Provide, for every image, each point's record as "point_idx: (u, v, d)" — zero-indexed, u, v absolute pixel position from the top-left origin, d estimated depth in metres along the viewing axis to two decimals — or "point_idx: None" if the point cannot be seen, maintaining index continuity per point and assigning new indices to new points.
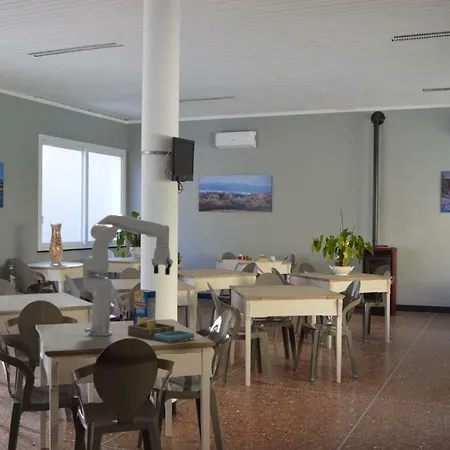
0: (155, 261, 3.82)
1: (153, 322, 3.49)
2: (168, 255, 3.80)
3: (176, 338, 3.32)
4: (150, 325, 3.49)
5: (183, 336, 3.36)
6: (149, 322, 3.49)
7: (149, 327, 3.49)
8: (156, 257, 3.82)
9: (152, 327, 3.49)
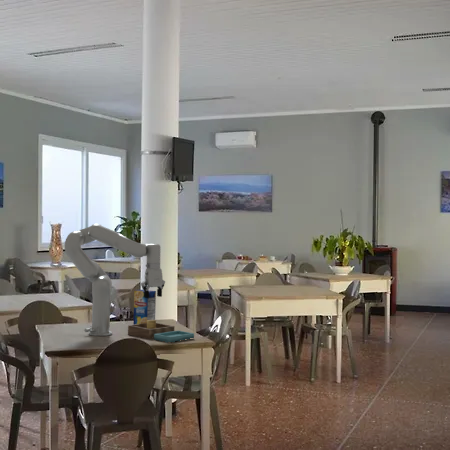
0: (153, 284, 3.47)
1: (153, 322, 3.49)
2: None
3: (176, 338, 3.32)
4: (150, 325, 3.49)
5: (183, 336, 3.36)
6: (149, 322, 3.49)
7: (149, 327, 3.49)
8: (154, 279, 3.48)
9: (152, 327, 3.49)
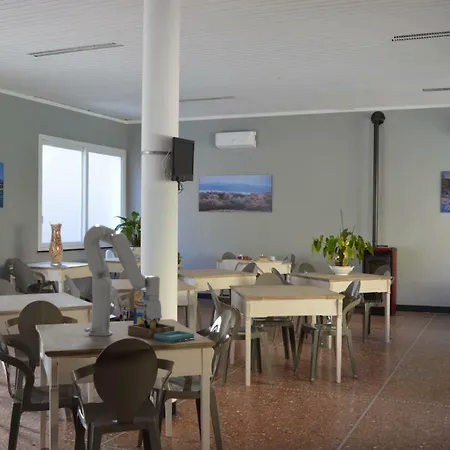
0: (151, 316, 3.47)
1: (153, 322, 3.49)
2: None
3: (176, 338, 3.32)
4: (150, 325, 3.49)
5: (183, 336, 3.36)
6: None
7: None
8: (152, 311, 3.48)
9: (152, 327, 3.49)
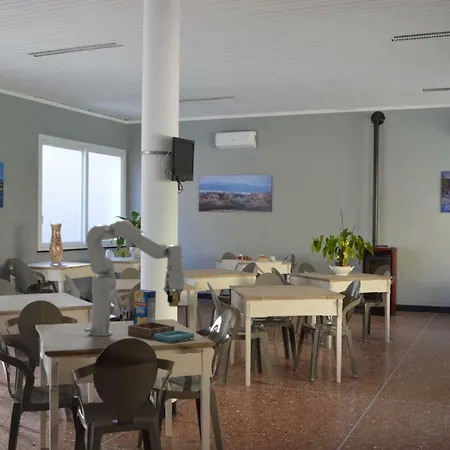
0: (174, 286, 3.37)
1: (176, 293, 3.39)
2: None
3: (176, 338, 3.32)
4: (173, 296, 3.38)
5: (183, 336, 3.36)
6: None
7: None
8: (175, 282, 3.37)
9: (175, 298, 3.38)
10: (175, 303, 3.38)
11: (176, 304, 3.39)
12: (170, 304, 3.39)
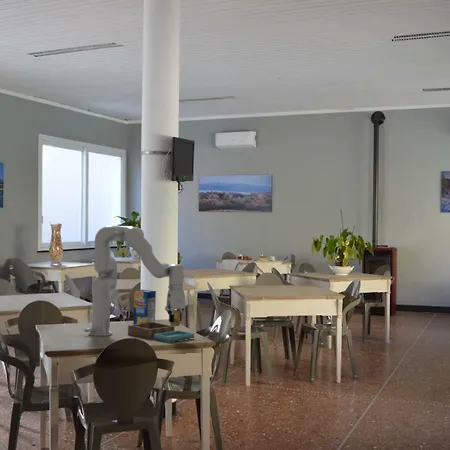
0: (175, 306, 3.36)
1: (177, 312, 3.38)
2: None
3: (176, 338, 3.32)
4: (174, 315, 3.37)
5: (183, 336, 3.36)
6: None
7: None
8: (176, 301, 3.36)
9: (176, 317, 3.37)
10: (177, 323, 3.37)
11: (178, 323, 3.38)
12: (171, 323, 3.38)
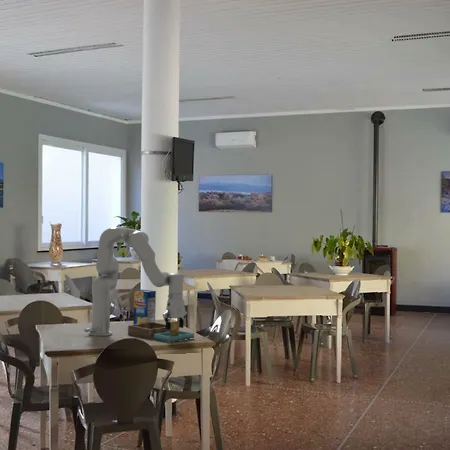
0: (175, 315, 3.36)
1: (176, 323, 3.38)
2: None
3: (176, 338, 3.32)
4: (173, 326, 3.37)
5: (183, 336, 3.36)
6: (172, 323, 3.37)
7: (172, 328, 3.37)
8: (176, 310, 3.36)
9: (175, 328, 3.37)
10: (176, 334, 3.37)
11: (177, 335, 3.38)
12: (171, 335, 3.38)
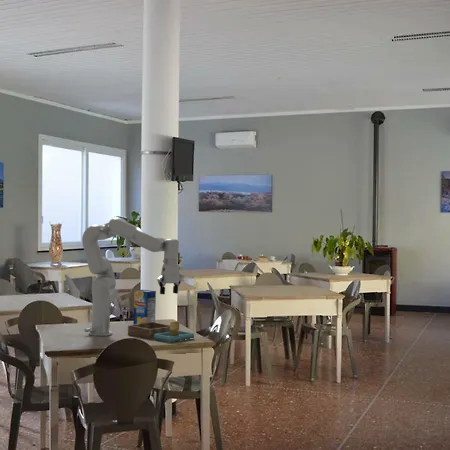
0: (169, 280, 3.38)
1: (176, 323, 3.38)
2: None
3: (176, 338, 3.32)
4: (173, 326, 3.37)
5: (183, 336, 3.36)
6: (172, 323, 3.37)
7: (172, 328, 3.37)
8: (170, 275, 3.39)
9: (175, 328, 3.37)
10: (176, 334, 3.37)
11: (177, 335, 3.38)
12: (171, 335, 3.38)
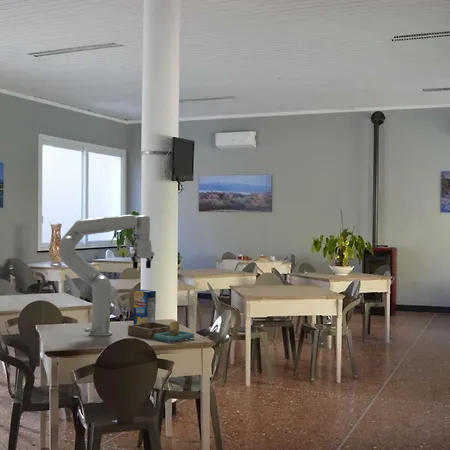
0: (141, 255, 3.50)
1: (176, 323, 3.38)
2: None
3: (176, 338, 3.32)
4: (173, 326, 3.37)
5: (183, 336, 3.36)
6: (172, 323, 3.37)
7: (172, 328, 3.37)
8: (142, 250, 3.51)
9: (175, 328, 3.37)
10: (176, 334, 3.37)
11: (177, 335, 3.38)
12: (171, 335, 3.38)
